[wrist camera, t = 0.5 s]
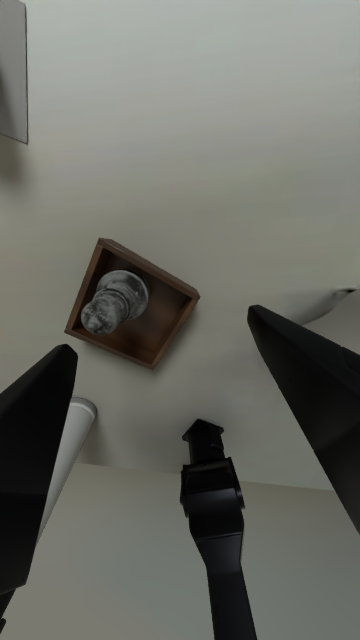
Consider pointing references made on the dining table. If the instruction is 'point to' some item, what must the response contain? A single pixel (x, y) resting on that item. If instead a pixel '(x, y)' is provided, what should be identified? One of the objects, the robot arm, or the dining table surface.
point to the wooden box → (153, 324)
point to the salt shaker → (116, 301)
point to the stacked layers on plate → (13, 70)
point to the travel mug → (62, 466)
